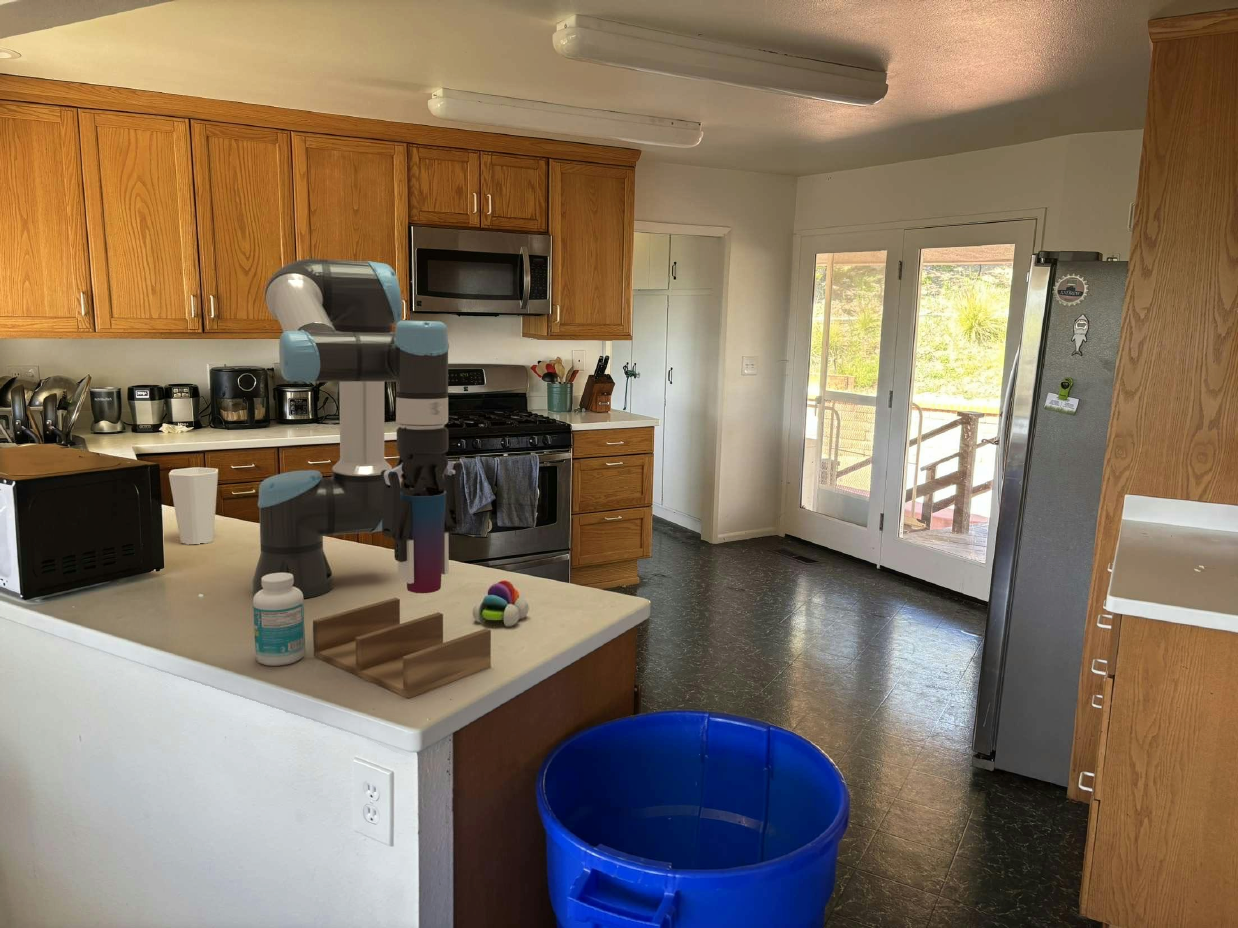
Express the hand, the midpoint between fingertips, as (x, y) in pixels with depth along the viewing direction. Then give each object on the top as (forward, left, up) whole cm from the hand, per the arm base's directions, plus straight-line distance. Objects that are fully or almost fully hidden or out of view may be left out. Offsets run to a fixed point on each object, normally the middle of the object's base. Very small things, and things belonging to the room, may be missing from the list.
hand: (423, 576), depth 132 cm
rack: (-6, 0, -15) cm, 16 cm away
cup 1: (-102, +14, -15) cm, 104 cm away
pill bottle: (-21, -12, -15) cm, 29 cm away
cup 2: (0, 0, -2) cm, 2 cm away
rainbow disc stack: (-8, +24, -15) cm, 30 cm away
